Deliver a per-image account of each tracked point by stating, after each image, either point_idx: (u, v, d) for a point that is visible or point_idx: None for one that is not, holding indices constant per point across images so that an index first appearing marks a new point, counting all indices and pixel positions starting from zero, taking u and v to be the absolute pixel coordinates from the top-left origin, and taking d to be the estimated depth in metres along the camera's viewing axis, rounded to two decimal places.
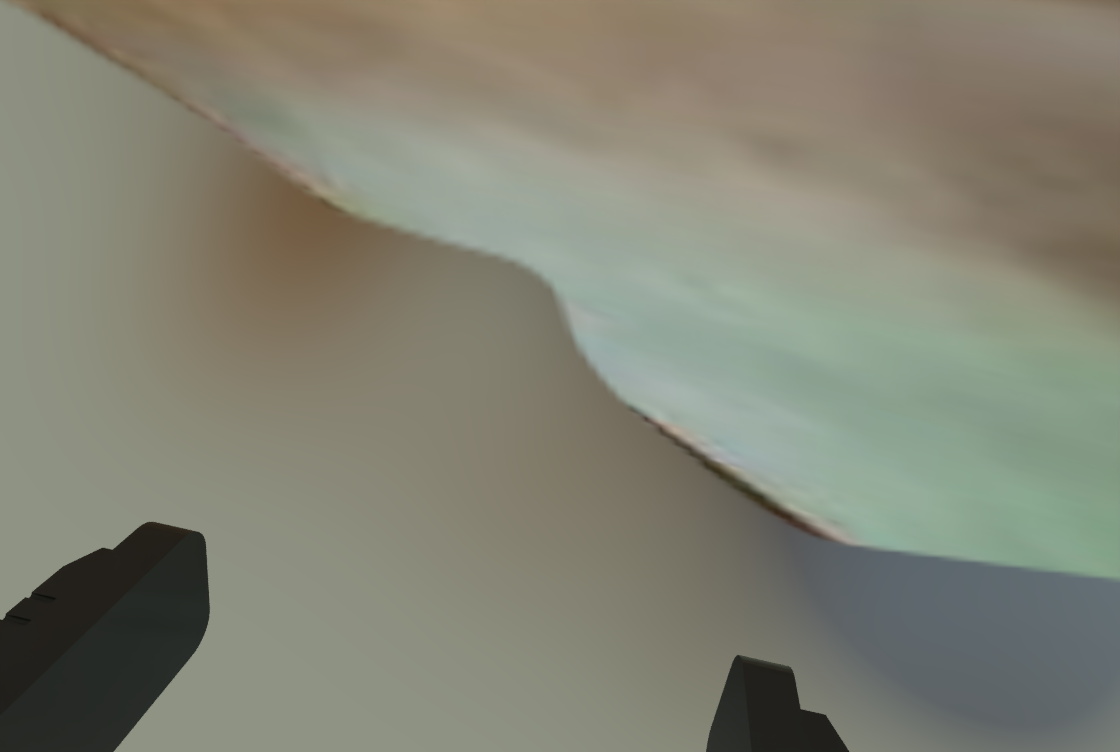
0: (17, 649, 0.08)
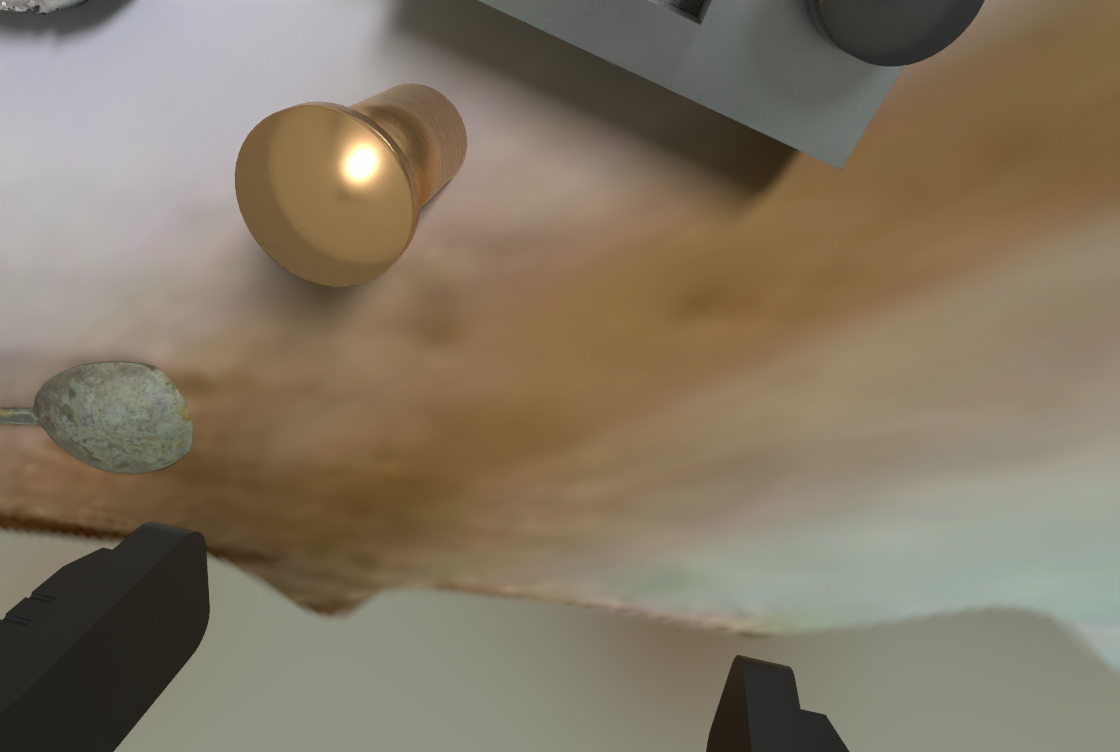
0: (17, 649, 0.08)
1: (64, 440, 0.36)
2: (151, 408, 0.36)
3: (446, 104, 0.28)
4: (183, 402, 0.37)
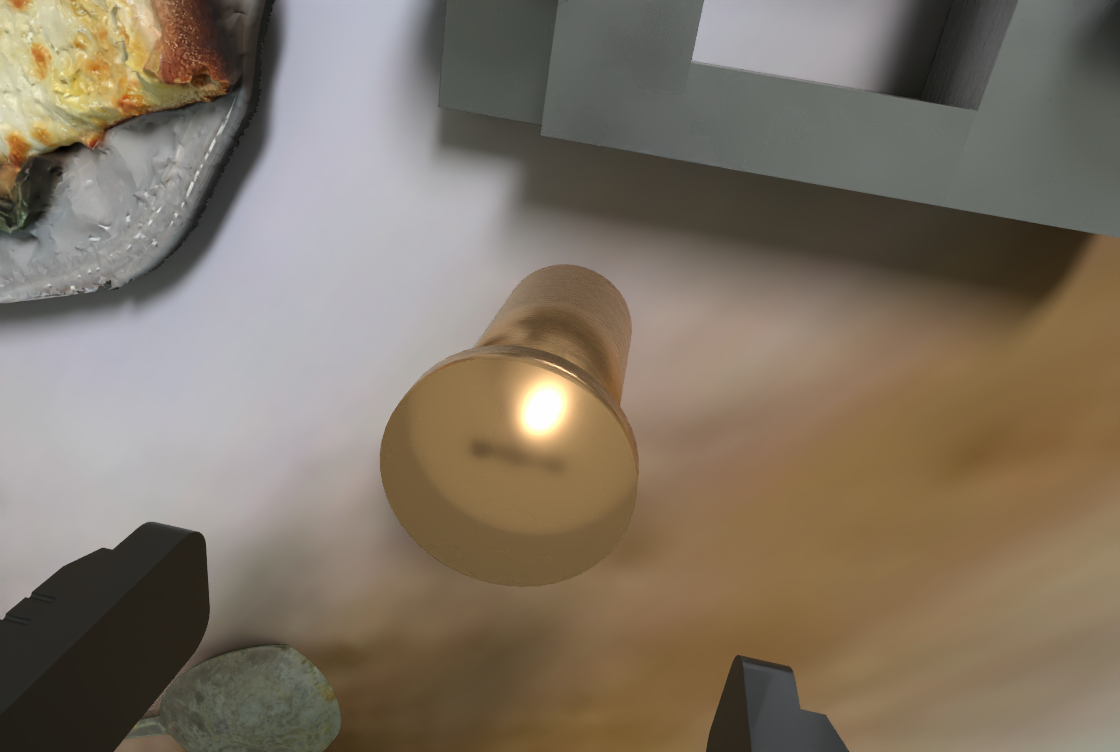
0: (17, 649, 0.08)
1: None
2: (289, 697, 0.30)
3: (601, 281, 0.22)
4: (324, 680, 0.31)
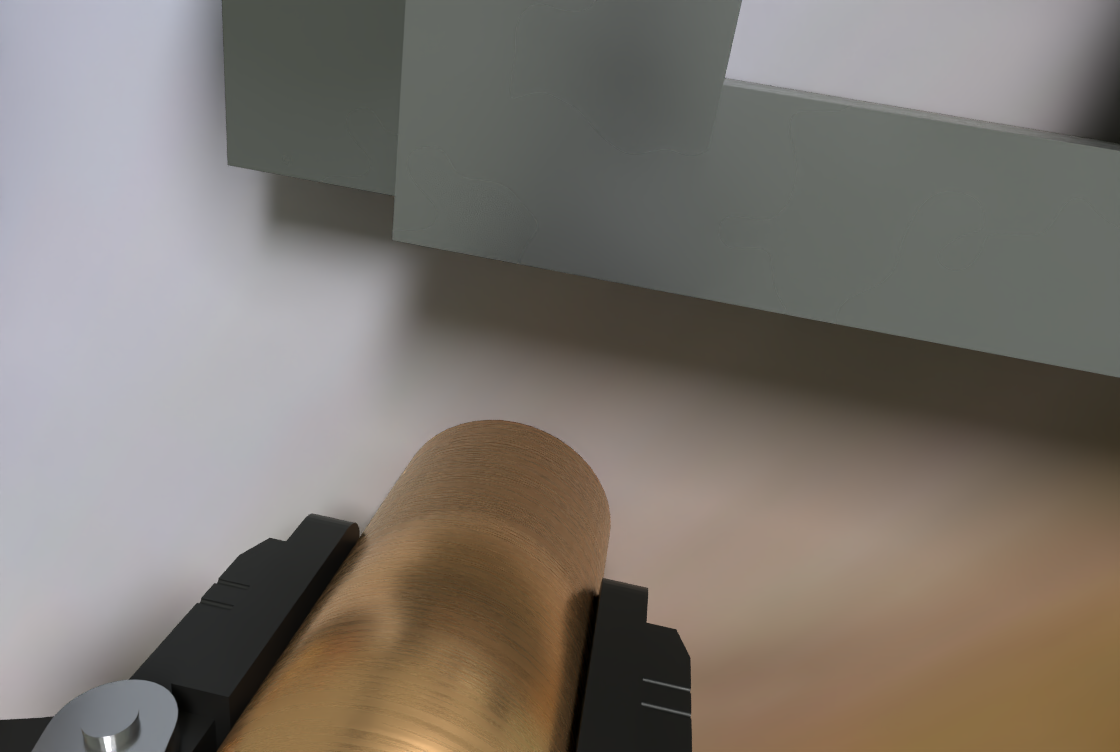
0: (231, 629, 0.09)
1: None
2: None
3: (556, 455, 0.13)
4: None
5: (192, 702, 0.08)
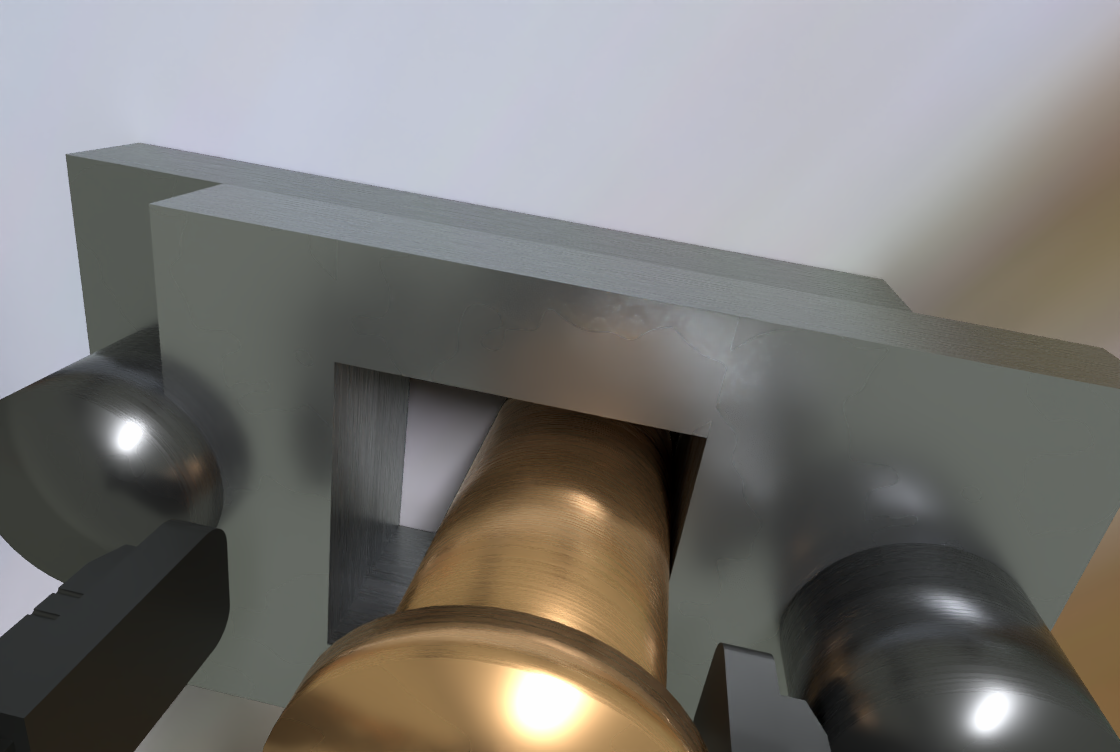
0: (48, 643, 0.08)
1: None
2: None
3: None
4: None
5: None
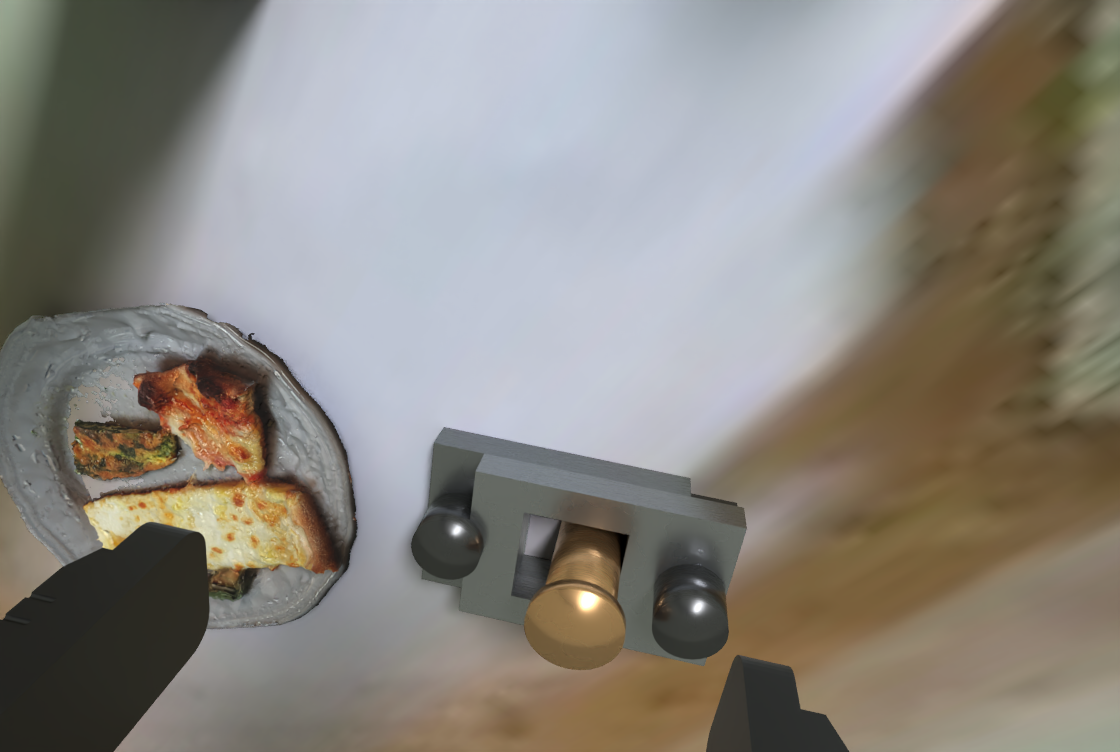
0: (17, 649, 0.08)
1: None
2: None
3: None
4: None
5: None
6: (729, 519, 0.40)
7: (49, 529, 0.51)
